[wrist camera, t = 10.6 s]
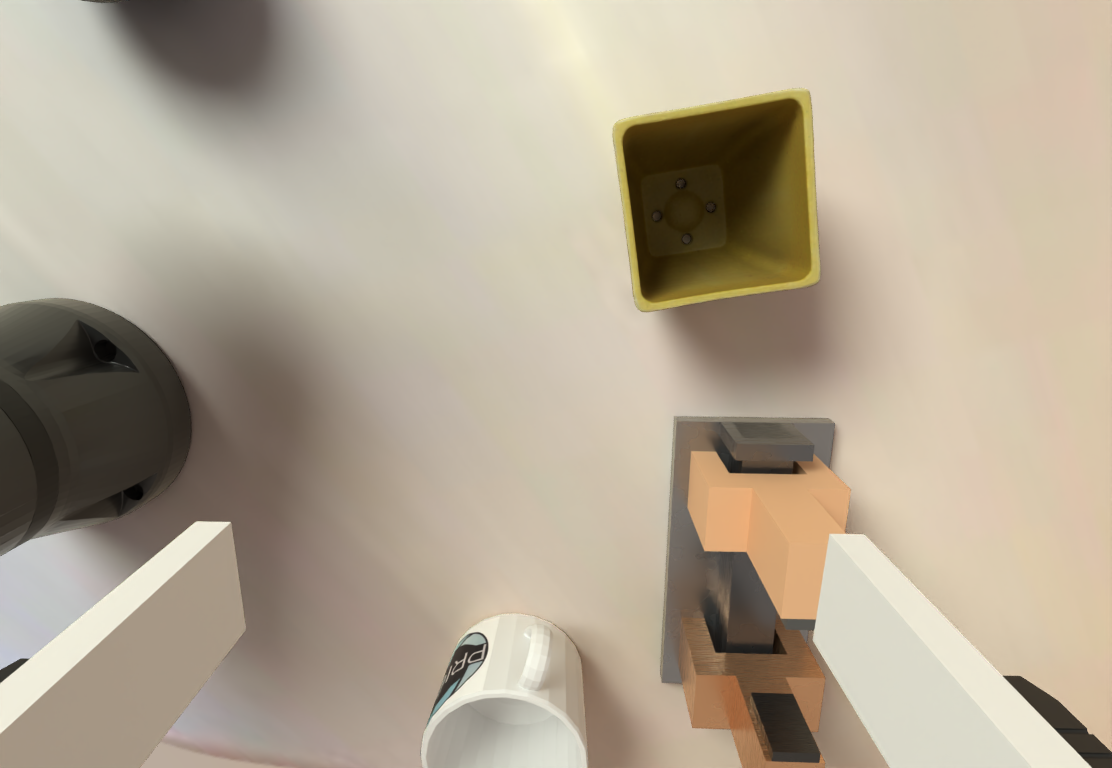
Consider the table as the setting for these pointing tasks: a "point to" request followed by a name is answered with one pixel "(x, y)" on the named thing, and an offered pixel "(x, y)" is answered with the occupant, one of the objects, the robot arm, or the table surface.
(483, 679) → the mug
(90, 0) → the decorative ball
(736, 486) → the tan wooden arch block
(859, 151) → the table surface
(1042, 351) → the table surface
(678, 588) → the rail base
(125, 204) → the table surface
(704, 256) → the flower pot
